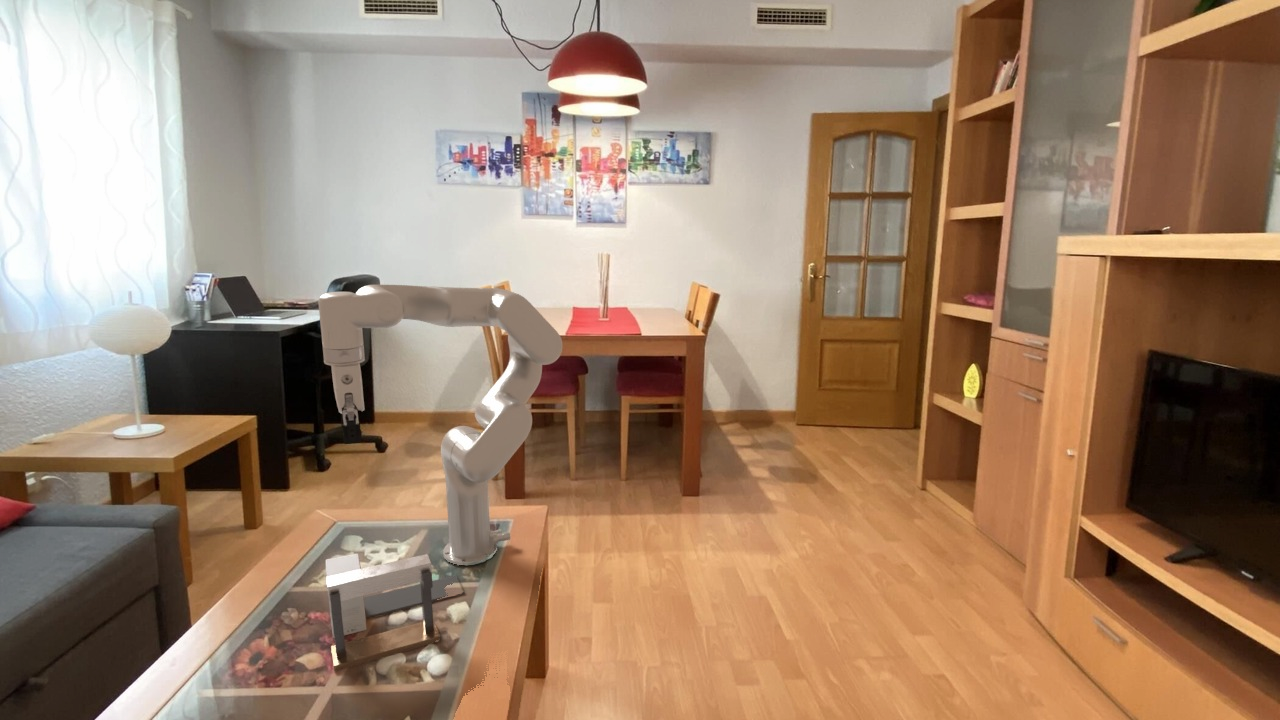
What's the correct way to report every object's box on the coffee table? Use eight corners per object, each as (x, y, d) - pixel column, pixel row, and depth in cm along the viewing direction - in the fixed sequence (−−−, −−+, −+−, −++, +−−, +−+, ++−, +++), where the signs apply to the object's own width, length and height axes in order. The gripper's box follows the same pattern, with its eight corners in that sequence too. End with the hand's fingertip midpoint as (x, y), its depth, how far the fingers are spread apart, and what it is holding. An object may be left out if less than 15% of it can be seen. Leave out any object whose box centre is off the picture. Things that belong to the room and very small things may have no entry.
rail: (428, 569, 135) (427, 553, 134) (432, 579, 132) (430, 562, 131) (328, 593, 127) (326, 576, 126) (329, 604, 124) (327, 586, 123)
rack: (433, 623, 140) (429, 556, 136) (440, 641, 134) (435, 572, 130) (331, 651, 131) (323, 581, 127) (334, 671, 126) (325, 599, 122)
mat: (456, 577, 156) (456, 574, 155) (464, 593, 150) (464, 591, 149) (361, 600, 147) (361, 598, 146) (365, 619, 141) (365, 616, 140)
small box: (367, 630, 137) (361, 572, 134) (332, 639, 135) (326, 580, 131) (364, 607, 144) (358, 552, 141) (330, 615, 142) (324, 559, 138)
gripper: (367, 363, 132) (374, 446, 136) (361, 343, 147) (367, 418, 151) (324, 366, 129) (333, 452, 133) (322, 345, 144) (330, 423, 148)
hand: (351, 434), depth 142 cm, fingers open, 9 cm apart
